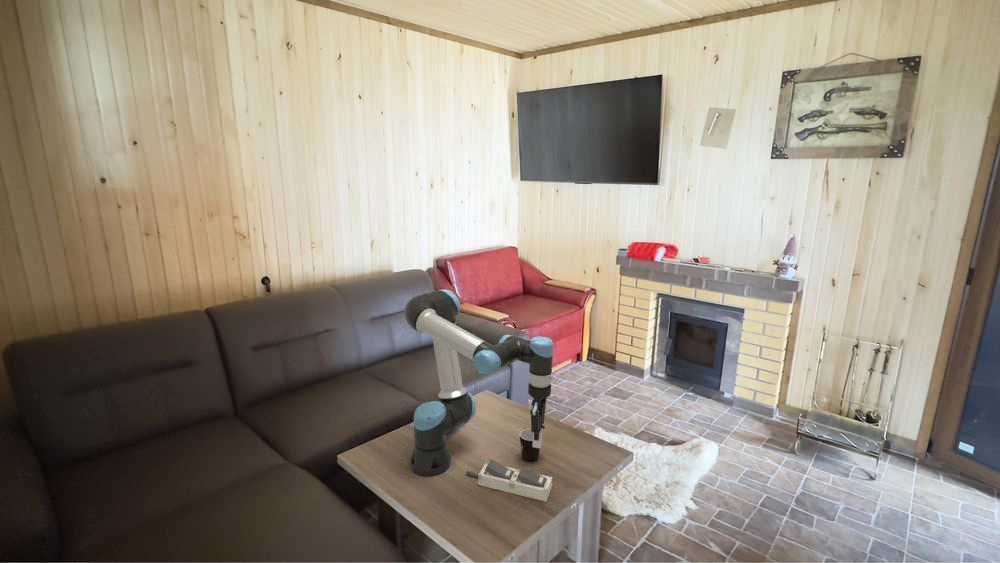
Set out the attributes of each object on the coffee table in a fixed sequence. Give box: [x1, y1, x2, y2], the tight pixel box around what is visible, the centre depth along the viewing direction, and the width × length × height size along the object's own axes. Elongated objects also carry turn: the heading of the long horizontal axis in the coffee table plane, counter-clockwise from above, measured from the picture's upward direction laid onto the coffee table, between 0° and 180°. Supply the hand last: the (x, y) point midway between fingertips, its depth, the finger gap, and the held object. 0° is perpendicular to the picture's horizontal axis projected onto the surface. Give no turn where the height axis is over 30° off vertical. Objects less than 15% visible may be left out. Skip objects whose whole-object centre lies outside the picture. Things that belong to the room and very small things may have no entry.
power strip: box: [465, 461, 553, 503], centre depth 167 cm, size 31×8×5 cm, turn 70°
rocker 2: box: [517, 467, 546, 488], centre depth 164 cm, size 9×5×2 cm, turn 70°
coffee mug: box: [519, 428, 541, 463], centre depth 184 cm, size 12×9×10 cm
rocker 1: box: [485, 459, 513, 480], centre depth 168 cm, size 9×5×2 cm, turn 70°
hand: (536, 446), depth 161 cm, fingers closed
